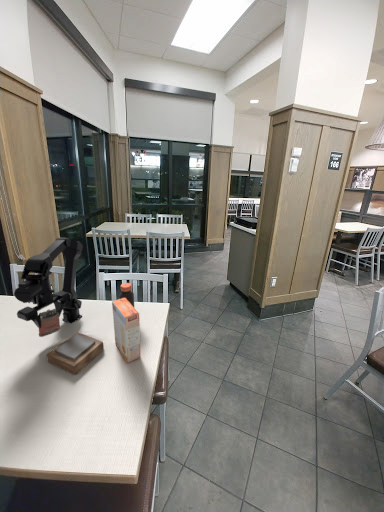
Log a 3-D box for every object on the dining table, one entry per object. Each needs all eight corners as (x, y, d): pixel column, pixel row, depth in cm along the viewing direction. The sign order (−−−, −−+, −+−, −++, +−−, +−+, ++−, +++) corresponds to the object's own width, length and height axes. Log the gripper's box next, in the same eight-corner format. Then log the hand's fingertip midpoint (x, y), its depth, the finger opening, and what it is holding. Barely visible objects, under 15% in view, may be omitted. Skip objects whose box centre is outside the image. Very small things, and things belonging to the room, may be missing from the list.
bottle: (136, 317, 114) (134, 282, 108) (133, 325, 108) (131, 288, 101) (123, 316, 114) (120, 281, 107) (119, 325, 108) (116, 288, 101)
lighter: (58, 326, 98) (56, 305, 95) (62, 329, 96) (60, 308, 93) (37, 334, 91) (35, 312, 89) (40, 337, 89) (38, 315, 87)
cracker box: (141, 357, 89) (139, 312, 82) (127, 363, 86) (124, 317, 79) (128, 337, 100) (125, 296, 93) (114, 342, 96) (111, 300, 89)
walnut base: (78, 339, 97) (77, 330, 95) (103, 349, 92) (102, 339, 91) (48, 362, 85) (45, 351, 83) (75, 375, 80) (73, 364, 78)
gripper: (50, 275, 98) (56, 306, 103) (3, 294, 82) (12, 329, 87) (69, 281, 95) (73, 312, 100) (23, 301, 78) (31, 338, 83)
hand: (49, 322), depth 93 cm, fingers closed on lighter, 8 cm apart
